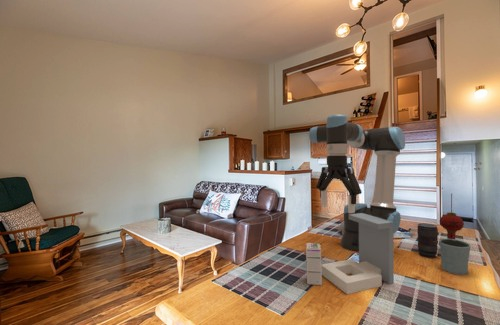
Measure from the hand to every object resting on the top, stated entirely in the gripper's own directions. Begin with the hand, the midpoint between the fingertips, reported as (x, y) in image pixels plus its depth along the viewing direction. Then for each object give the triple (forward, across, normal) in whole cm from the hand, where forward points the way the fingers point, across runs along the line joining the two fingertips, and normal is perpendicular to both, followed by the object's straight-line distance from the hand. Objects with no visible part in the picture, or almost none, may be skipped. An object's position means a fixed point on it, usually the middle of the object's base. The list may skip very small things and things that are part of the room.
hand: (336, 209), depth 95 cm
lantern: (+28, +8, +72) cm, 78 cm away
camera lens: (+29, +4, +58) cm, 65 cm away
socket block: (+29, +1, +9) cm, 30 cm away
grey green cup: (+29, +18, +51) cm, 61 cm away
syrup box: (+29, -5, -7) cm, 31 cm away
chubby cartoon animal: (+29, -38, +50) cm, 69 cm away
